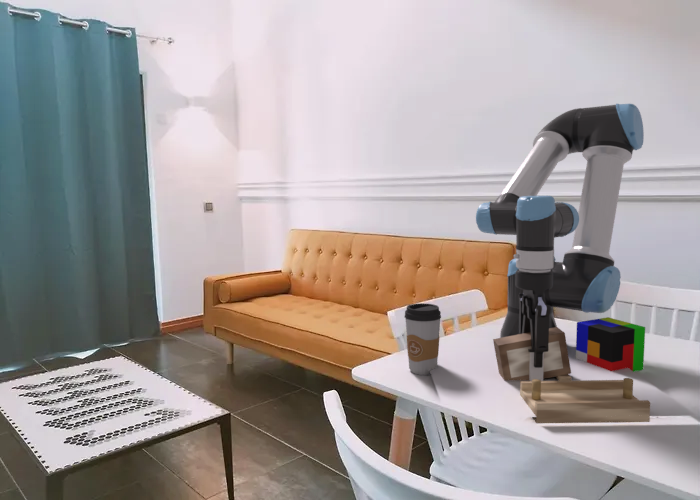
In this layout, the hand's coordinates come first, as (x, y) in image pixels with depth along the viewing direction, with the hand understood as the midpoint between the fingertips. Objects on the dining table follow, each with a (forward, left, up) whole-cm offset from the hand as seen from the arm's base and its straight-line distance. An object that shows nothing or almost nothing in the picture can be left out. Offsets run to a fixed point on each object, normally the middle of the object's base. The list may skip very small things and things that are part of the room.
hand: (532, 376), depth 116 cm
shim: (0, +6, -1) cm, 6 cm away
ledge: (+15, +4, -1) cm, 16 cm away
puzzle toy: (-9, +20, -2) cm, 22 cm away
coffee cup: (-8, -23, -1) cm, 24 cm away
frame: (0, +1, 0) cm, 1 cm away
